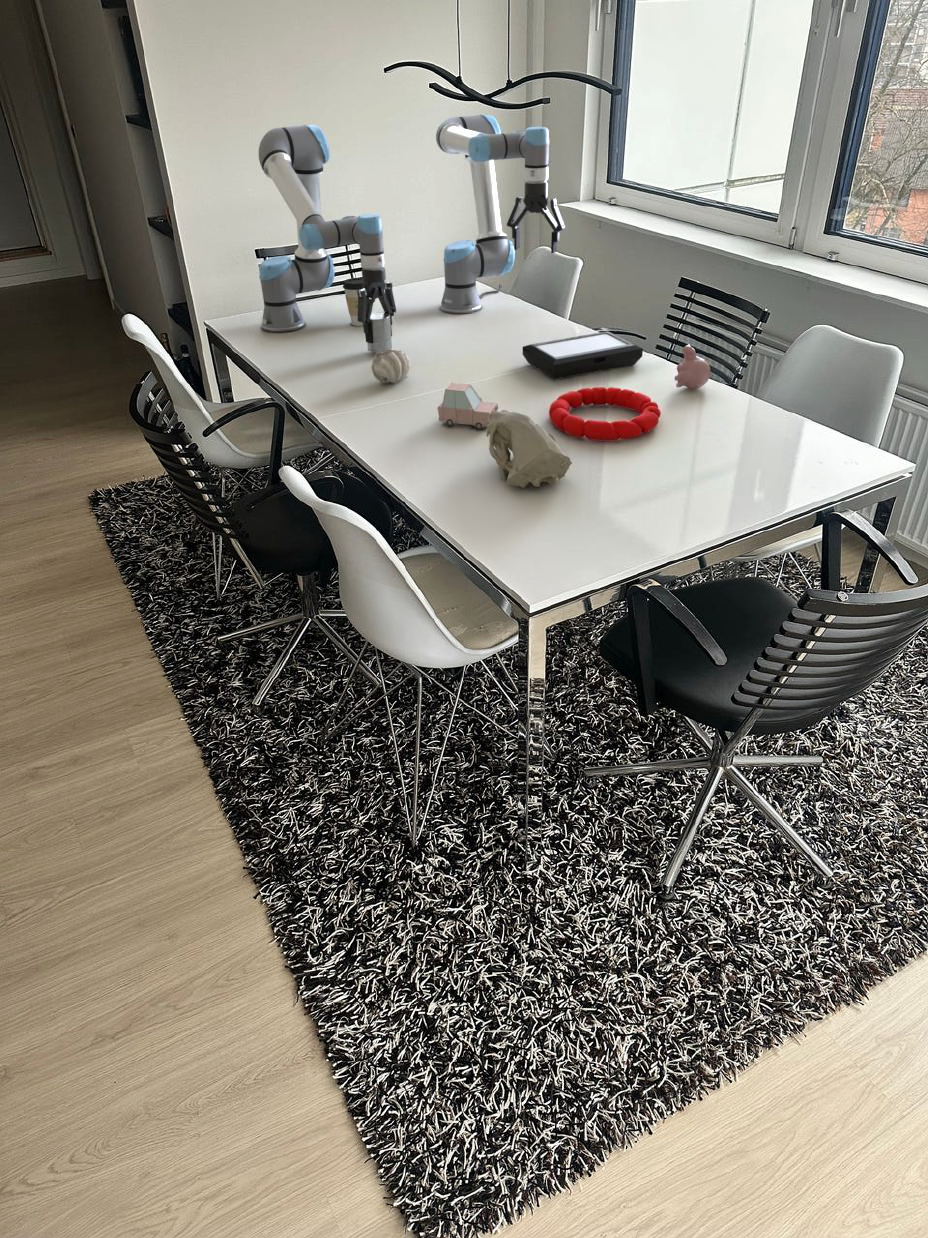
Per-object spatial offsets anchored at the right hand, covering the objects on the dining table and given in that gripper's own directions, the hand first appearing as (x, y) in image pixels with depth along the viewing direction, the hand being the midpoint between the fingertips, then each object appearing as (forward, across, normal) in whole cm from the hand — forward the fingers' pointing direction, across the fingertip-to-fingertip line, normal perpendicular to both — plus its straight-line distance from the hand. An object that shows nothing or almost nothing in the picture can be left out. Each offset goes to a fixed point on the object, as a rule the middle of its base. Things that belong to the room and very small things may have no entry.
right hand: (535, 250), depth 301 cm
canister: (+25, -36, -44) cm, 63 cm away
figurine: (+26, +67, -36) cm, 81 cm away
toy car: (+26, +20, -87) cm, 93 cm away
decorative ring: (+26, +53, -70) cm, 92 cm away
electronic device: (+26, +30, -29) cm, 49 cm away
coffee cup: (+26, -62, -19) cm, 69 cm away
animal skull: (+26, +45, -108) cm, 120 cm away
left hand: (+22, -36, -44) cm, 61 cm away
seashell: (+26, -17, -67) cm, 74 cm away
